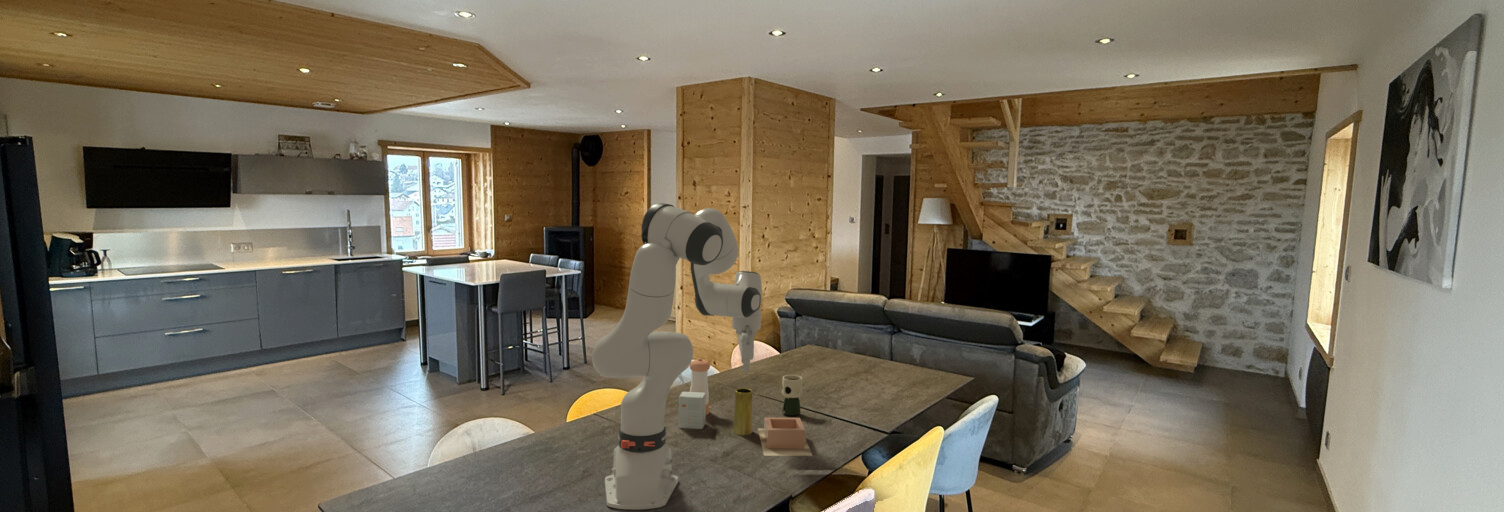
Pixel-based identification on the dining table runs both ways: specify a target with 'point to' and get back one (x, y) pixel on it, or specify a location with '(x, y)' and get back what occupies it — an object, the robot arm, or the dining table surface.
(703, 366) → the pepper shaker
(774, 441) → the pink open box
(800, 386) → the character mug
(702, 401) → the small box
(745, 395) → the vase
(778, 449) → the board
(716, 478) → the dining table surface
